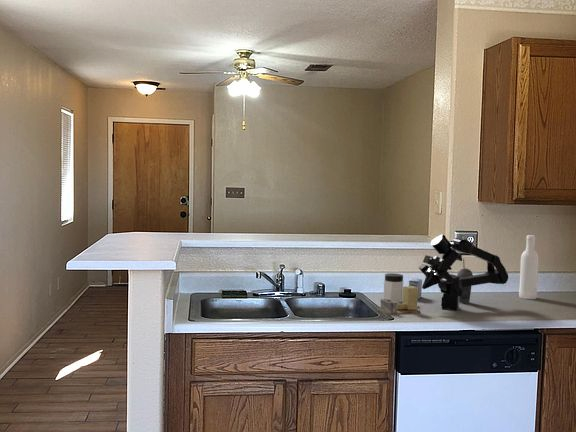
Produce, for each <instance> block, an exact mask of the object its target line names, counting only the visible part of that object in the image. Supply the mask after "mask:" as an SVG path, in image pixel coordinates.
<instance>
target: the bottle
mask: <svg viewBox="0 0 576 432" xmlns="http://www.w3.org/2000/svg"><path fill="white" fill-rule="evenodd" d="M525 240H526V244H525V245H526V246H525V250H524V251H523V252H522V254H521V255H520V272H519V291H518V297H519V299H525V300H536V299H537V295H538V278H539V276H538V275H539V262H540V261H539V257H540V256H539V255H538V253H537V251H536V250H535V246H536V245H535V243H536V235H533V234H528V235H526V237H525Z"/></svg>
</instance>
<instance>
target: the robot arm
mask: <svg viewBox="0 0 576 432" xmlns="http://www.w3.org/2000/svg"><path fill="white" fill-rule="evenodd" d="M430 245H431V246H432V248H433V249H434V250H435V251H436V252H437V254H439V255H441V257H439V256H437V255H434V256H431V255H426V254H425V256H424V258H423V260H422V263H424V264H421V265H419V266H418V269H419V270H420V271H421V273H422V274H424V276H425V279H424V281H423V282H422V290H426V289H428V288H431V287H434V286H435V285H437V286H438V288H439V290H440V292H441V294H442V297H441V302H440V303H441V305H440V306H441V309H442V310H449V311H458V310H459V309H460V305H459V296H461V295H462V292H463V291H462V290H461V288H462V287H467V286H471V287H473V286H479V285H485V284H494V285H495V284H496V285H504V284H507V282H508V280H509V274H508V272H507V270H506V268H505V266H504V264H503V263H502V261H501V258H500V257H499V256H498V255H495V254H494V253H490V252H488V251H486V250H484V249H481V248H479V247H476V245H474V244H473V243H472V242H470V240H468V239H465V238H461V237H455V238H453V239H452V240H449V239H448V238H447V237H446V235H445V234H443V233H441V234H439V235H438V236H435V238H433V239H431V241H430ZM460 253H464V254H469V255H471V256H473V257H476V258H477V259H481V260H483V261H485V262H486V264H487V265H486V269H487V271H486V272H485V273H481V274H474V275H473V276H467V277H460V278H459V276H457V275H455V274H452V273H449V271H452V269H453V268H452V266H453V265H454V264H455V262H456V261H459V262H463V258H462V257H463V256H462V254H460Z"/></svg>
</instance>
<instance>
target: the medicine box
mask: <svg viewBox="0 0 576 432" xmlns="http://www.w3.org/2000/svg"><path fill="white" fill-rule="evenodd" d="M408 286H413V287H416V288H418V295H417V301H418V300H420V298H421V297H422V290H423V288H422V286H423V279H422V278H417V277H415V278H411V279H410V280H408Z"/></svg>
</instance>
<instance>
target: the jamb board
mask: <svg viewBox="0 0 576 432" xmlns="http://www.w3.org/2000/svg"><path fill="white" fill-rule="evenodd" d="M397 304H399V303H397V302H391V300H390V299H384V298H381V299H380V306H379V307H380V309H379V311H380V312H383V313H385V314H387V315H389V316H390V315H406V314H420V313H421V310H419V309H418V308H417V309H414V310H407V309H398V310H397Z"/></svg>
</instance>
